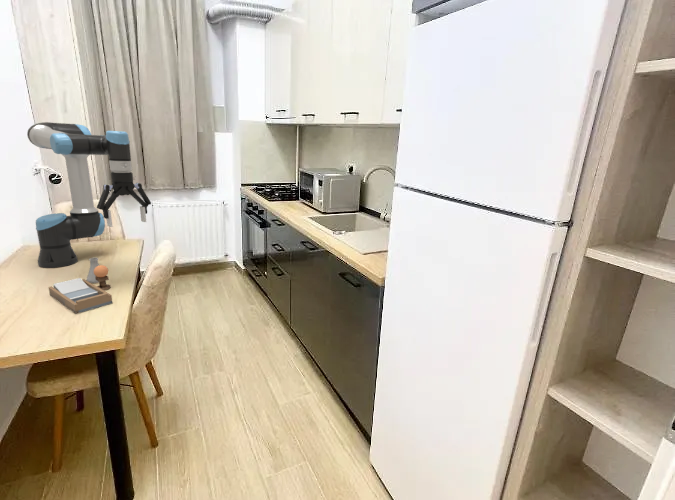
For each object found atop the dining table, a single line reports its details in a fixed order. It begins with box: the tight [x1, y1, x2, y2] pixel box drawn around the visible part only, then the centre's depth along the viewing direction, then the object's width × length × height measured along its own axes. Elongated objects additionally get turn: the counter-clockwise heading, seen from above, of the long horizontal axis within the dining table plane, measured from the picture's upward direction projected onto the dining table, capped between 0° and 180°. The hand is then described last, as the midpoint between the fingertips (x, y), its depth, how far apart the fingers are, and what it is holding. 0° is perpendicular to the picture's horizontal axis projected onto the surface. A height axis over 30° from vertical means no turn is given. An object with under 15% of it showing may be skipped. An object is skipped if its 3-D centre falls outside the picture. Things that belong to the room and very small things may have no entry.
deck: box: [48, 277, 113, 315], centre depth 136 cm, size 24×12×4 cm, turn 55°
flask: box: [85, 257, 100, 284], centre depth 154 cm, size 7×7×10 cm
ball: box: [94, 264, 109, 278], centre depth 145 cm, size 5×5×5 cm
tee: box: [95, 275, 111, 291], centre depth 147 cm, size 5×5×5 cm
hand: (127, 224), depth 148 cm, fingers open, 13 cm apart
